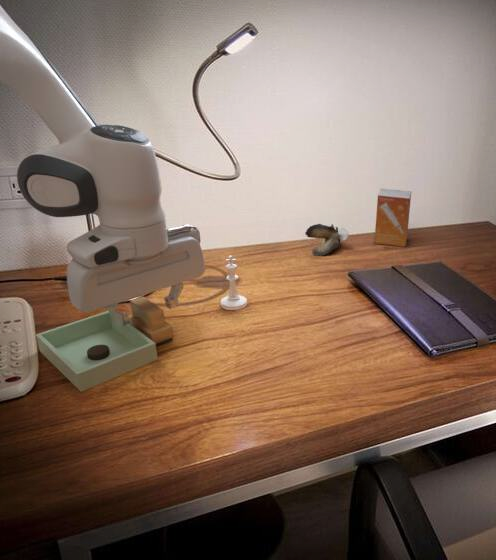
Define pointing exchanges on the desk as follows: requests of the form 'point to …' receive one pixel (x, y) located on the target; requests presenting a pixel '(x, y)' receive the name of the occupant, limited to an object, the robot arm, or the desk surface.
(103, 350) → the dark brown disc
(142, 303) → the brush
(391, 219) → the small box
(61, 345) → the tray
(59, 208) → the robot arm
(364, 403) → the desk surface
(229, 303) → the chess piece
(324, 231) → the grey brown curved piece
